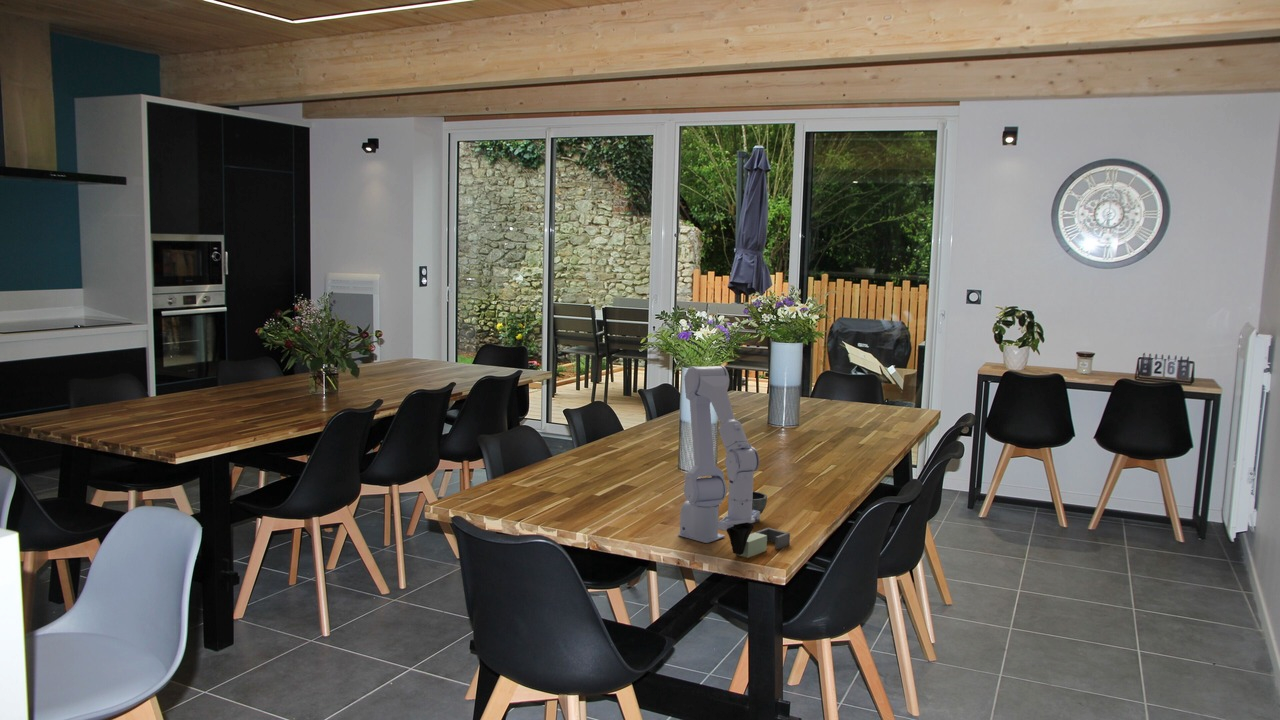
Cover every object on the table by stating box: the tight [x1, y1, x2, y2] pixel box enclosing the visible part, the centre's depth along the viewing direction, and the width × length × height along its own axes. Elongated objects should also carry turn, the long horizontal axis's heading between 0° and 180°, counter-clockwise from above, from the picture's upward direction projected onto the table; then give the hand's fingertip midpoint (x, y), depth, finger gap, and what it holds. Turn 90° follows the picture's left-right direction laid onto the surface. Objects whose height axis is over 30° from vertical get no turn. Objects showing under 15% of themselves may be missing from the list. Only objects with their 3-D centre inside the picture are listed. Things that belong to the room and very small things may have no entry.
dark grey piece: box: [755, 527, 791, 550], centre depth 237 cm, size 7×6×3 cm
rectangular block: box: [735, 531, 768, 559], centre depth 230 cm, size 8×4×4 cm, turn 139°
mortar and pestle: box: [752, 490, 768, 524], centre depth 258 cm, size 11×9×12 cm
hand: (738, 553), depth 226 cm, fingers closed
